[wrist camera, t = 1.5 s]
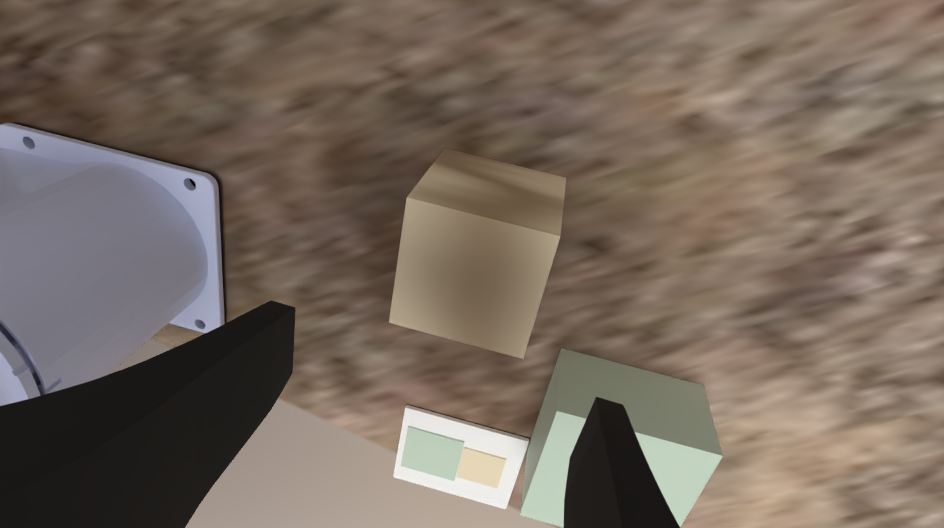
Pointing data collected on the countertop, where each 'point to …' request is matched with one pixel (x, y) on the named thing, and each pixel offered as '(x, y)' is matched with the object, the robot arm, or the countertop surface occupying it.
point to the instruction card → (458, 456)
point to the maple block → (477, 251)
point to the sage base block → (652, 417)
